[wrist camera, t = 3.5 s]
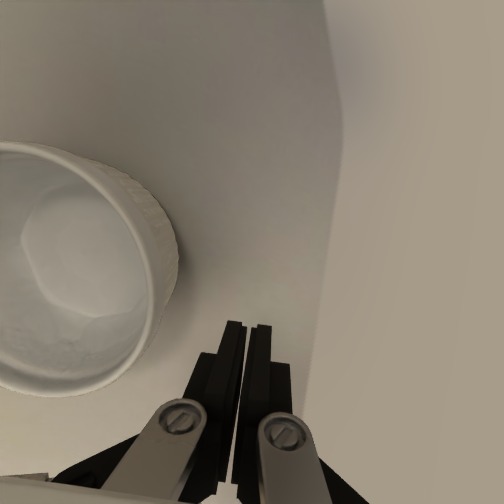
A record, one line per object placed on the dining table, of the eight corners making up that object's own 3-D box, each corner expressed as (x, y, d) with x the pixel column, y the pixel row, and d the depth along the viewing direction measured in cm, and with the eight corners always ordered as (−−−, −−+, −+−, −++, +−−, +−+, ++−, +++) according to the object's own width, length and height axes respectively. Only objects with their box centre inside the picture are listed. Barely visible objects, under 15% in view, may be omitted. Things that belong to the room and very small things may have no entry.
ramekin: (86, 99, 19) (-18, 66, 13) (236, 254, 21) (214, 297, 14) (-23, 241, 23) (-151, 274, 16) (114, 364, 24) (50, 440, 18)
